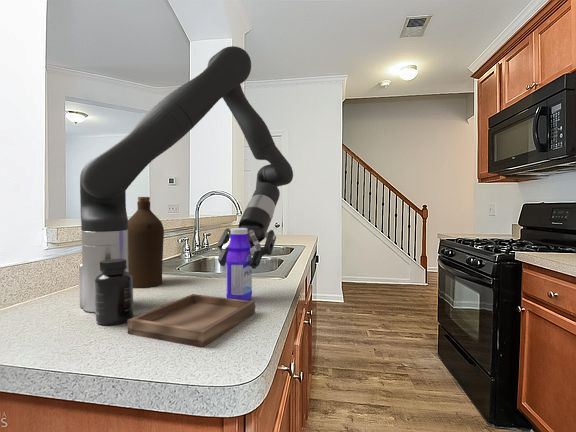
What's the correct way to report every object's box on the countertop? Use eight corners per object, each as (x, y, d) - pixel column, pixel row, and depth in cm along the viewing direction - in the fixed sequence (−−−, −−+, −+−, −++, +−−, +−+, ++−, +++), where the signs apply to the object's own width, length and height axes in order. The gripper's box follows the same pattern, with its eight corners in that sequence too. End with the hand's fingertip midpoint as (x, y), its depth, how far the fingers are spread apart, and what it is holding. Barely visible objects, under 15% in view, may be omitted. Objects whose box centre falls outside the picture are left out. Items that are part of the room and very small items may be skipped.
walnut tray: (127, 333, 63) (127, 319, 62) (192, 304, 80) (192, 293, 80) (203, 347, 57) (202, 332, 57) (255, 313, 75) (255, 301, 74)
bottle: (245, 305, 80) (245, 229, 80) (222, 303, 81) (222, 229, 81) (254, 296, 87) (255, 227, 87) (233, 295, 89) (233, 227, 88)
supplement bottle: (123, 312, 74) (123, 256, 74) (139, 319, 70) (139, 260, 70) (89, 320, 69) (88, 260, 69) (104, 328, 65) (103, 264, 64)
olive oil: (172, 281, 103) (171, 197, 102) (145, 290, 93) (144, 196, 92) (144, 278, 107) (143, 197, 106) (115, 286, 97) (114, 196, 96)
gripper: (229, 205, 93) (204, 254, 83) (278, 205, 88) (258, 257, 78) (239, 224, 98) (216, 272, 88) (286, 225, 93) (268, 276, 83)
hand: (236, 265), depth 83 cm, fingers open, 8 cm apart
